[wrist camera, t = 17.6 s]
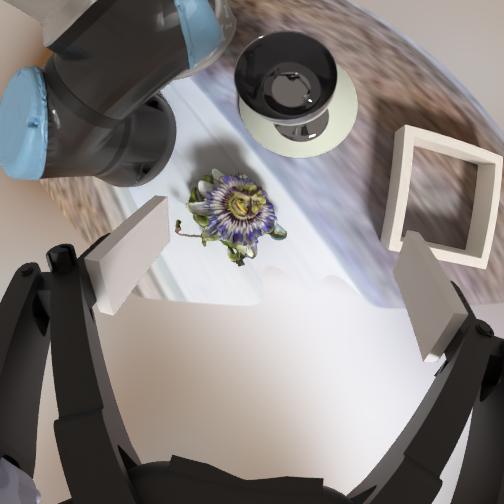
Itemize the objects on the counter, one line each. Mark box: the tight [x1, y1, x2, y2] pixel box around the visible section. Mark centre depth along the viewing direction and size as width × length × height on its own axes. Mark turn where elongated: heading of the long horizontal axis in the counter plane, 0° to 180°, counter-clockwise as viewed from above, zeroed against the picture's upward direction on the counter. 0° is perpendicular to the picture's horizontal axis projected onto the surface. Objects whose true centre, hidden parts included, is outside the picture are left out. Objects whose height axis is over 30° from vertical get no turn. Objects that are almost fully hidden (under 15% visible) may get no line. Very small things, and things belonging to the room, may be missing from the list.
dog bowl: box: [174, 0, 237, 80], centre depth 32 cm, size 17×18×5 cm
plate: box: [239, 63, 358, 158], centre depth 33 cm, size 15×15×1 cm
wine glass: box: [234, 30, 338, 142], centre depth 26 cm, size 8×8×15 cm
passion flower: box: [175, 168, 287, 266], centre depth 35 cm, size 11×11×12 cm
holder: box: [380, 125, 503, 269], centre depth 30 cm, size 14×14×5 cm
